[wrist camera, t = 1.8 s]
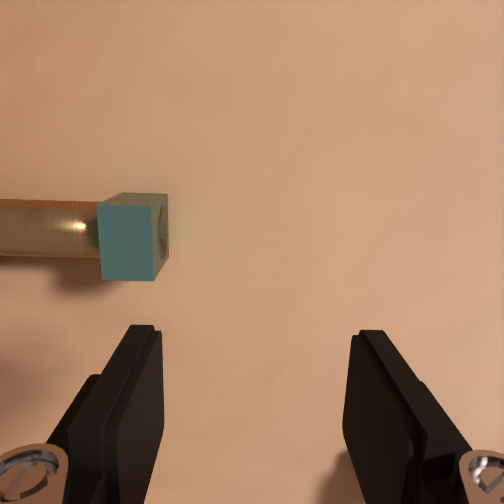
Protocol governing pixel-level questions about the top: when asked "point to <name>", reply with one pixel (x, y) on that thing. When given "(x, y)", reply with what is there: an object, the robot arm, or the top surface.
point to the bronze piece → (92, 232)
